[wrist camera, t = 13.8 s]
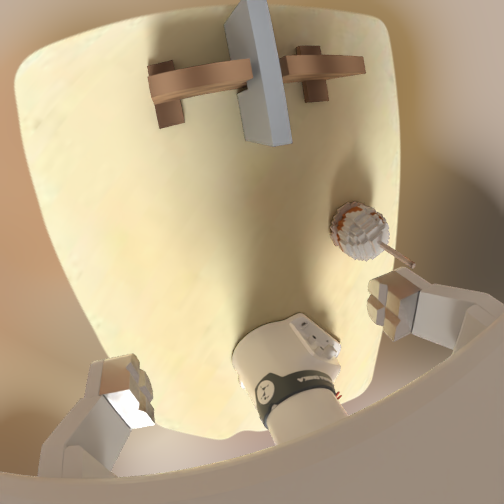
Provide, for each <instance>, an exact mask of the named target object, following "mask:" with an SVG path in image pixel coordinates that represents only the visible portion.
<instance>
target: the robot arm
mask: <svg viewBox="0 0 504 504" xmlns="http://www.w3.org/2000/svg"><path fill="white" fill-rule="evenodd" d="M368 291H369V293H370V294H371V295H370V297H369V299H368V300H367V310H368V314H369V316H370V318H371V319H372V321H373V322H374V323H375V324H377V325H381V326H383V332H384V333H385V334H386V335H387V336H388V337H390V339H391V340H392V341H393V342H394V341H396V340H398V339H400V338H402V337H404V336H406V335H408V334H410V333H412V334H413V335H416V336H419V337H421V338H424V339H426V340H429V341H432V342H434V343H437V344H440V345H442V346H445V347H448V348H450V349H453V353H452V355H451V356H450V357H448V358H447V359H446V360H444V361H443V362H441V363H440V364H438V365H437V366H435V367H434V368H432V369H431V370H429V371H428V372H427V373H425V374H423V375H422V376H420V377H419V378H417V379H416V380H414V381H412V382H411V383H409V384H407V385H406V386H404V387H402V388H401V389H399V390H397V391H396V392H394V393H392V394H390V395H388V396H387V397H385V398H383V399H381V400H379V401H377V402H376V403H374V404H372V405H370V406H368V407H366V408H364V409H362V410H360V411H358V412H356V413H354V414H352V415H350V416H349V415H348V413H347V412H346V411H345V410H344V408H343V407H342V405H341V404H340V402H339V401H338V399H339V398H340V397H341V396H342V395H340V396H339V397H338V398H337V396H338V394H339V393H340V392H337V393H335V389H334V384H333V383H334V381H335V380H336V378H337V377H338V375H339V373H340V369H341V366H340V363H339V362H338V360H337V359H336V358H337V356H338V354H339V352H340V350H341V345H340V343H339V342H338V341H337V340H336V339H334V338H333V337H332V336H331V335H329V334H328V333H327V332H326V331H324V330H323V329H322V328H321V327H319V326H318V325H317V324H315V323H314V322H313V321H312V320H310V319H309V318H308V317H307V316H305V315H304V314H303V313H298V314H295V315H293V316H291V317H289V318H287V319H286V320H283V321H278V322H273V323H269V324H266V325H263V326H260V327H258V328H256V329H255V330H253V331H251V332H250V333H249V334H247V335H246V336H245V337H244V338H243V339H242V340H241V341H240V342H239V343H238V345H237V346H236V348H235V350H234V353H233V356H232V364H233V367H234V369H235V371H236V372H237V374H238V375H239V384H240V386H241V387H242V388H243V389H246V391H247V393H248V395H249V397H250V399H251V401H252V402H253V404H254V406H255V408H256V409H257V410H258V413H259V415H260V419H261V421H262V422H263V424H264V426H265V427H266V428H267V429H268V430H269V431H270V433H271V436H272V438H273V441H274V443H275V445H276V446H273V447H270V448H267V449H263V450H260V451H257V452H254V453H250V454H247V455H244V456H240V457H236V458H233V459H229V460H225V461H221V462H217V463H212V464H208V465H203V466H198V467H194V468H188V469H183V470H177V471H171V472H165V473H157V474H150V475H141V476H130V477H117V476H116V475H115V474H113V473H112V472H111V470H112V468H113V466H114V464H115V462H116V460H117V458H118V456H119V454H120V452H121V450H122V448H123V446H124V444H125V442H126V440H127V439H128V437H129V435H130V432H131V429H135V428H140V427H145V426H150V425H155V421H154V408H153V407H152V405H151V404H150V402H151V400H152V399H153V391H152V387H151V383H150V380H149V378H148V376H147V374H146V372H145V371H143V370H141V369H140V362H139V360H138V359H137V357H136V355H135V354H133V353H132V354H128V355H123V356H118V357H112V358H107V359H104V360H98V361H93V362H92V363H91V364H90V369H89V373H88V379H87V384H86V390H85V396H84V398H81V399H80V400H79V401H78V402H77V403H76V405H75V406H74V407H73V408H72V409H71V410H70V412H69V413H68V414H67V416H66V417H65V418H64V419H63V420H62V421H61V423H60V424H59V425H58V426H57V427H56V429H55V430H54V431H53V432H52V434H51V435H50V436H49V437H48V439H47V440H46V441H45V442H44V444H43V445H42V449H41V455H40V462H39V469H38V477H36V476H35V477H34V476H25V475H18V474H11V473H5V472H0V504H504V304H502V303H501V302H499V301H498V300H497V299H495V298H494V297H492V296H491V295H489V294H487V293H482V292H477V291H471V290H466V289H461V288H456V287H450V286H444V285H439V284H433V285H431V284H430V283H429V282H427V281H425V280H424V279H423V278H421V277H420V276H418V275H417V274H415V273H414V272H412V271H411V270H409V269H408V268H406V267H400V268H398V269H395V270H393V271H391V272H389V273H387V274H384V275H382V276H379V277H377V278H374V279H372V280H370V281H369V284H368ZM302 323H303V324H302Z"/></svg>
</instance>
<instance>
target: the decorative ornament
mask: <svg viewBox="0 0 504 504" xmlns="http://www.w3.org/2000/svg"><path fill="white" fill-rule="evenodd" d="M337 211H338V213H337V214H336V215H335V216H333V219H334V220H333V221H332V225H331V226H330V228H331V231H332V233H331V234H330V236H331V238H332V241H333V243H334V245H335V246H339V248H340V249H341V250H342V251H343V252H344V253H346V254H347V255H348V256H351V257H352V258H353V259H354V260H356V259H358V260H362V261H363V260H365V261H367V260H368V259H370V258H371V259H372V260H373V259H374V258H375V257H376V256H378V255H379V254H380V253H381V252H383V251H384V250H385V251H387V252H388V253H390V254H391V255H393V256H394V257H396V258H398V259H399V260H400V261H402V262H403V263H405V264H406V265H408V266H409V267H411V268H412V269H413V268H414V267H415V263H414V262H413V261H411V260H410V259H408V258H407V257H405V256H403V255H402V254H400V253H399V252H397V251H396V250H394V249H393V248H391V247H390V246H388V245H387V244H388V243H389V241H388V240H389V239H390V238H389V235H390V234H389V231H388V229H389V226H388V223H387V222H386V219H385V218H384V217H383V216H382V214H381V213H379V212H377V213H376V210H375V209H374V208H372V207H368V206H365V205H364V204H363V203H360V202H358V203H357V202H356V201H354V202H353V203H351V204H350V203H349V202H347V203H346V204H345V205H343V206H342V207H340V208H339V209H338V210H337Z"/></svg>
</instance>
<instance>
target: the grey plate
mask: <svg viewBox="0 0 504 504" xmlns="http://www.w3.org/2000/svg"><path fill="white" fill-rule="evenodd" d="M224 28H225V34H226V39H227V44H228V49H229V54H230V60H239V59H248V58H250V63H251V68H252V74H253V78H252V79H250V80H248V81H246V82H247V87H248V90H245V91H243V92H240V93H238V94H237V97H238V103H239V108H240V114H241V119H242V125H243V130H244V136H245V141H249V142H254V143H259V144H263V145H268V146H272V147H275V146H280V145H286V144H292V143H293V142H292V136H291V129H290V122H289V116H288V109H287V103H286V97H285V91H284V85H283V80H282V74H281V68H280V63H279V58H278V52H277V47H276V42H275V37H274V32H273V27H272V23H271V18H270V13H269V9H268V4H267V0H241V1H240V2H239V4H238V5H237V7H236V8H235V9H234V11H233V12H232V13H231V15H230V16H229V18H228V19H227V21H226V22H225V24H224Z"/></svg>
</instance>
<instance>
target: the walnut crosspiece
mask: <svg viewBox="0 0 504 504" xmlns="http://www.w3.org/2000/svg"><path fill="white" fill-rule="evenodd" d="M296 51H297V55H289V56H284V57H282V58H280V59H279V63H280V68H281V74H282V80H283V83H290V82H302V85H303V91H304V98H305V103H307V102H319V101H329V98H328V91H327V84H326V80H328V79H333V78H339V77H345V76H351V75H358V74H365V73H366V71H365V65H364V59H363V57H360V56H343V55H321V50H320V46H298V47H296ZM147 68H148V73H149V77H148V82H149V88H150V93H151V98H152V100H153V102H154V105H155V109H156V114H157V119H158V124H159V128H160V129H161V128H165V127H169V126H173V125H177V124H181V123H185V121H184V116H183V111H182V106H181V101H180V99H184V98H189V97H193V96H198V95H203V94H208V93H214V92H219V91H225V90H231V89H238V88H245V87H247V82H246V81H248V80H250V79H252V78H253V74H252V68H251V63H250V58H248V59H239V60H231V61H223V62H217V63H210V64H204V65H199V66H193V67H188V68H183V69H178V70H174V64H173V60H171V61H167V62H162V63H158V64H154V65H150V66H147Z"/></svg>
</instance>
